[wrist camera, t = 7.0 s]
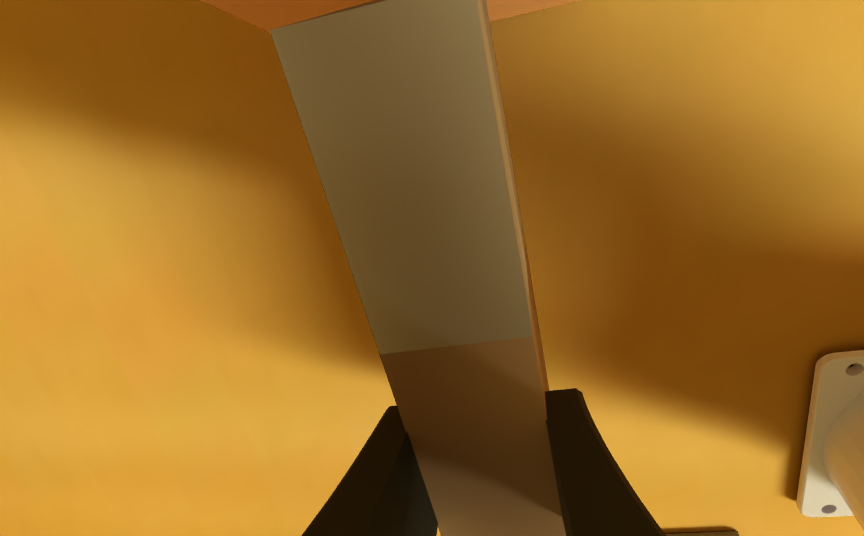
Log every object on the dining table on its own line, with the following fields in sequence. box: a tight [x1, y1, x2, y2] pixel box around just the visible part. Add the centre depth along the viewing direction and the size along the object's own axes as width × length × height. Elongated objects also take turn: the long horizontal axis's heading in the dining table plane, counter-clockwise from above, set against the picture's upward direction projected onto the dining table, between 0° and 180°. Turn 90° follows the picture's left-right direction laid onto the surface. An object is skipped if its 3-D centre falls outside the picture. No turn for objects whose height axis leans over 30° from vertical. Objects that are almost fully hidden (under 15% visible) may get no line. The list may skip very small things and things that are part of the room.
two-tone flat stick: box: [270, 0, 566, 536], centre depth 12 cm, size 2×16×4 cm, turn 13°
